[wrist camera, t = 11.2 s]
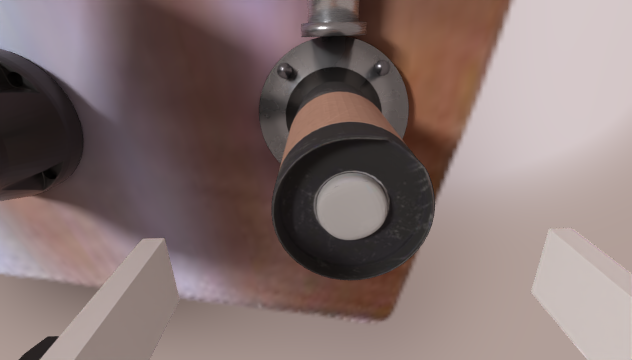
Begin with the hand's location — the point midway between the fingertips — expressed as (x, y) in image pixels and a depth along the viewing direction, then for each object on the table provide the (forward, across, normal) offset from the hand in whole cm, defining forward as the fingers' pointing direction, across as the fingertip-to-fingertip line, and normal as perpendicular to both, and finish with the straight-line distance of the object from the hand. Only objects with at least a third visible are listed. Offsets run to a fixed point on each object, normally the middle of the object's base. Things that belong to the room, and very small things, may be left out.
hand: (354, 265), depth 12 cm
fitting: (+25, 0, +3) cm, 25 cm away
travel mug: (+24, 0, 0) cm, 24 cm away
